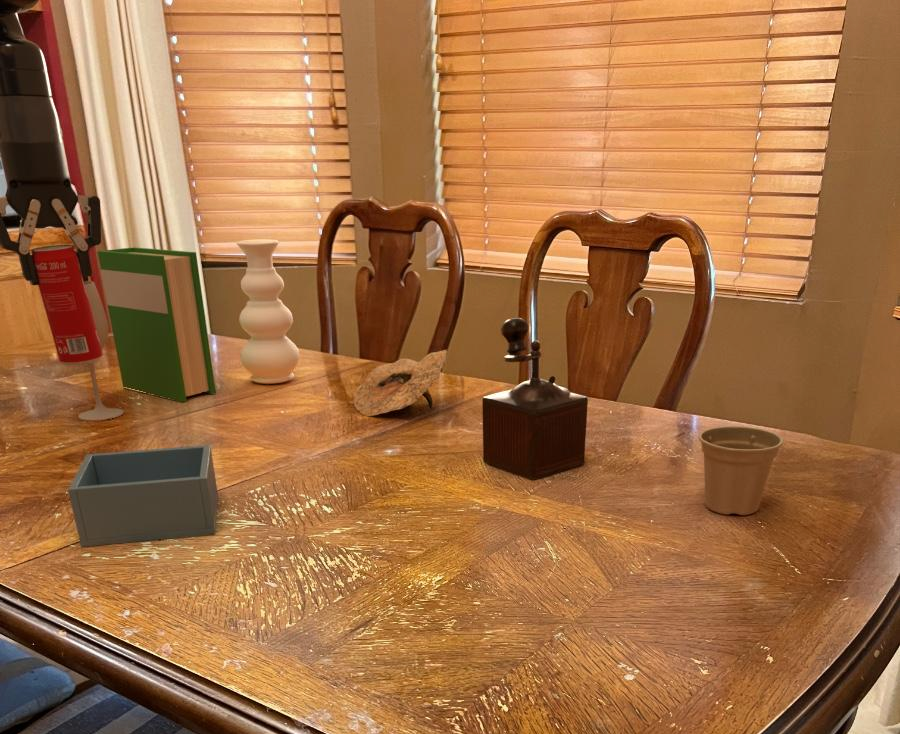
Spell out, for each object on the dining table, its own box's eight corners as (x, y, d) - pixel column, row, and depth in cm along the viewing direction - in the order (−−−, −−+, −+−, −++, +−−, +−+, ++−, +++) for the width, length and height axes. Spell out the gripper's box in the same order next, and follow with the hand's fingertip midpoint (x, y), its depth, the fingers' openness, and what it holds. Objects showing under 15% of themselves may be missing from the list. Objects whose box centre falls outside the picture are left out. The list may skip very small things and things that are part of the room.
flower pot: (679, 512, 102) (687, 442, 98) (703, 488, 109) (712, 421, 105) (760, 527, 98) (772, 454, 94) (779, 501, 105) (791, 432, 101)
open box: (81, 547, 96) (67, 489, 93) (97, 506, 107) (86, 454, 104) (215, 534, 98) (206, 478, 95) (218, 496, 109) (210, 444, 106)
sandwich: (356, 450, 146) (333, 412, 142) (382, 408, 156) (362, 371, 152) (447, 421, 137) (426, 379, 133) (469, 378, 147) (449, 338, 143)
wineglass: (74, 423, 141) (44, 288, 131) (80, 411, 147) (52, 281, 137) (122, 419, 142) (96, 285, 132) (126, 407, 149) (102, 279, 139)
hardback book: (215, 393, 156) (195, 252, 145) (182, 402, 151) (158, 256, 140) (157, 380, 166) (133, 247, 155) (123, 388, 161) (97, 251, 150)
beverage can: (111, 361, 120) (89, 245, 113) (65, 368, 116) (40, 249, 109) (91, 355, 123) (69, 242, 117) (46, 362, 119) (21, 246, 112)
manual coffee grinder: (590, 463, 119) (598, 328, 110) (532, 481, 112) (536, 340, 104) (514, 438, 129) (516, 314, 121) (457, 453, 123) (455, 324, 115)
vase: (233, 380, 165) (214, 240, 153) (281, 371, 171) (267, 236, 160) (263, 390, 158) (246, 244, 146) (312, 380, 164) (300, 239, 153)
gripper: (84, 140, 113) (108, 276, 121) (-38, 139, 106) (-4, 284, 114) (97, 139, 107) (121, 281, 115) (-31, 138, 101) (5, 290, 108)
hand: (59, 282), depth 114 cm, fingers closed on beverage can, 5 cm apart
